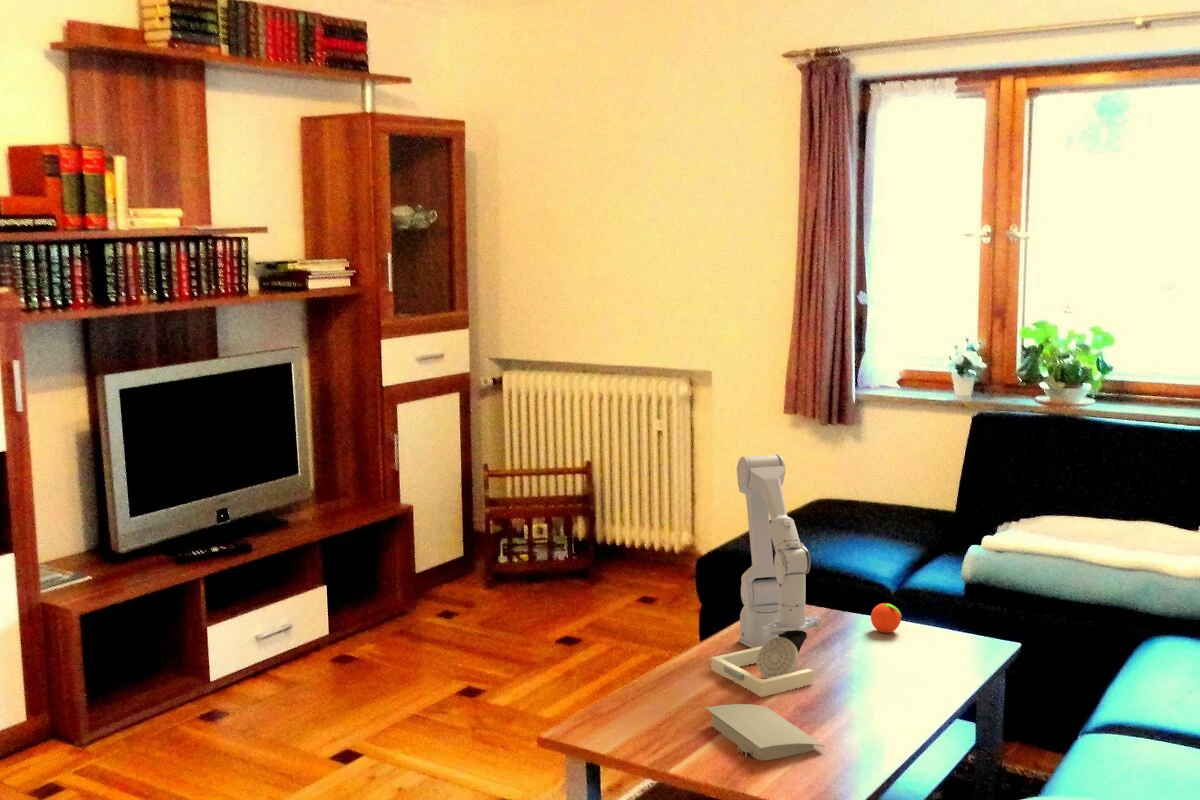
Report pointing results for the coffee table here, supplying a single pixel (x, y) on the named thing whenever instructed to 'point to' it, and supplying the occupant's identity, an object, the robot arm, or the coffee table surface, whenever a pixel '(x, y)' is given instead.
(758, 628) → the robot arm
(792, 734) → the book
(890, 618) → the clementine
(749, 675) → the dock
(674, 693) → the coffee table surface
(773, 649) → the showerhead
